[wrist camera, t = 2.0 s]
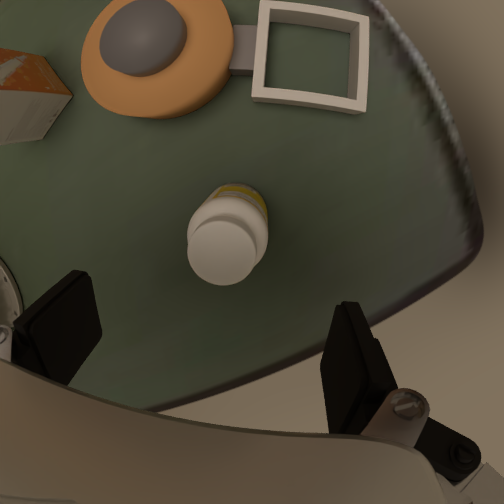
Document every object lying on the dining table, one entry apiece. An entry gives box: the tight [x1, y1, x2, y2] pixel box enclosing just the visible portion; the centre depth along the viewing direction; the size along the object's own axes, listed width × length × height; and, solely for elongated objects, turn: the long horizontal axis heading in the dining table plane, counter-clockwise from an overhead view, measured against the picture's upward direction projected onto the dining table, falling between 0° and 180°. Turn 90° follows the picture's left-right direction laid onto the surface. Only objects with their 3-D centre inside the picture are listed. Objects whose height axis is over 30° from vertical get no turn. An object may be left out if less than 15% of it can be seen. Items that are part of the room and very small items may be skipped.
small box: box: [0, 48, 73, 145], centre depth 16 cm, size 8×6×13 cm
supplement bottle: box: [187, 183, 268, 285], centre depth 21 cm, size 5×5×10 cm
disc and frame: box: [81, 0, 369, 119], centre depth 17 cm, size 12×22×7 cm, turn 86°
